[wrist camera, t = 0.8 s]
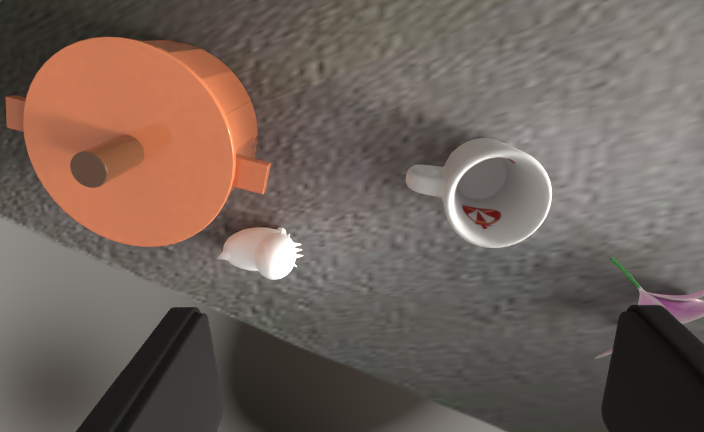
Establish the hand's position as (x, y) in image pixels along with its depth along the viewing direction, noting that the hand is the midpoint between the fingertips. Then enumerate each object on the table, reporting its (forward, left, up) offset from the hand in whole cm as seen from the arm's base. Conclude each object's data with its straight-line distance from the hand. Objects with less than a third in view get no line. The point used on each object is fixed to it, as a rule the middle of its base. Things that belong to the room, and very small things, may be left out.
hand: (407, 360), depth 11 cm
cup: (+3, +8, -33) cm, 34 cm away
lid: (+6, -18, -24) cm, 31 cm away
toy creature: (+15, -8, -33) cm, 37 cm away
